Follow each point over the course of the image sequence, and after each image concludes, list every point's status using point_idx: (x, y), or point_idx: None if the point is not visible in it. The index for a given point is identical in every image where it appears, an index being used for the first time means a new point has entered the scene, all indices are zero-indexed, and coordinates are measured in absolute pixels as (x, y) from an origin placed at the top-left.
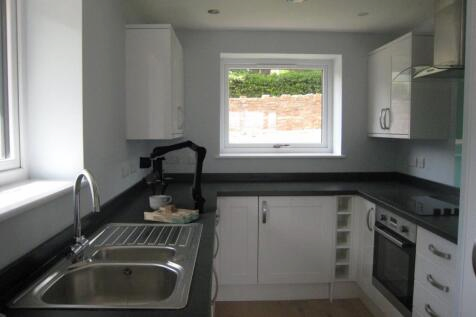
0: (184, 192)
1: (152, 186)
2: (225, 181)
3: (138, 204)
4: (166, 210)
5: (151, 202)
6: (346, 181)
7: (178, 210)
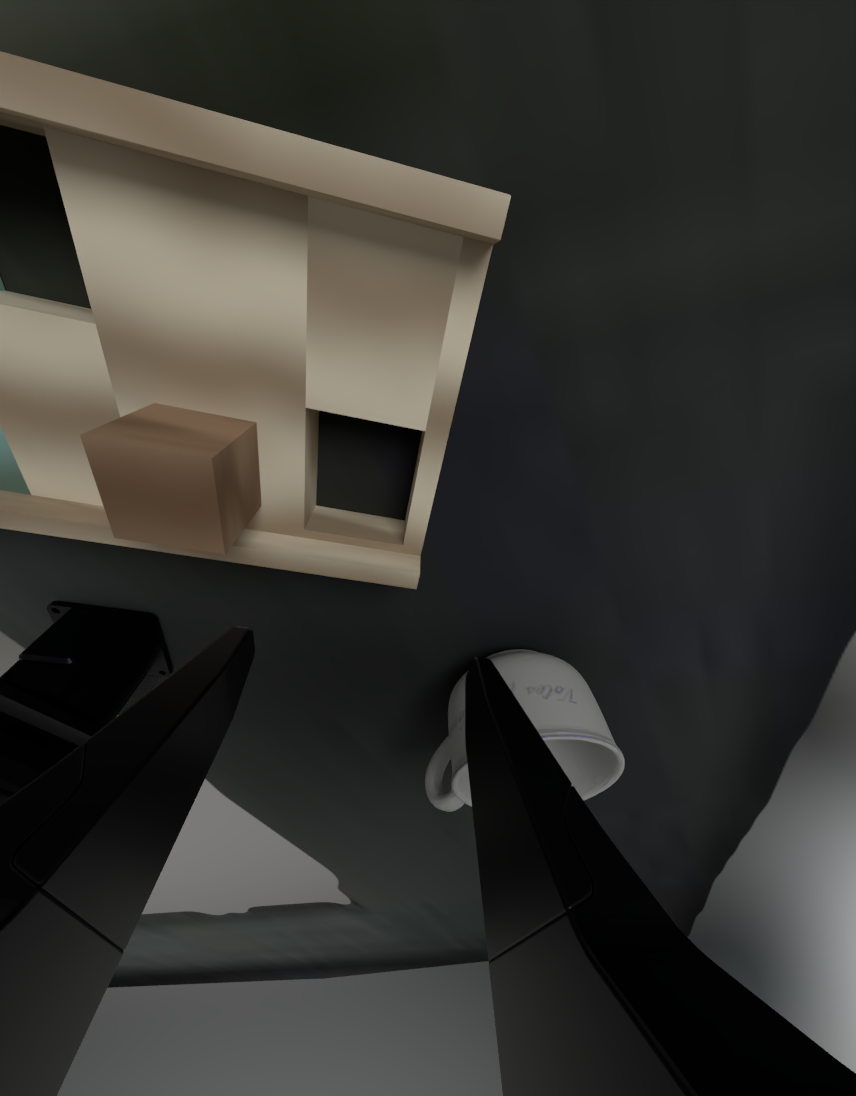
0: None
1: (551, 913)
2: (414, 963)
3: (698, 736)
4: (217, 429)
5: (574, 693)
6: None
7: None
